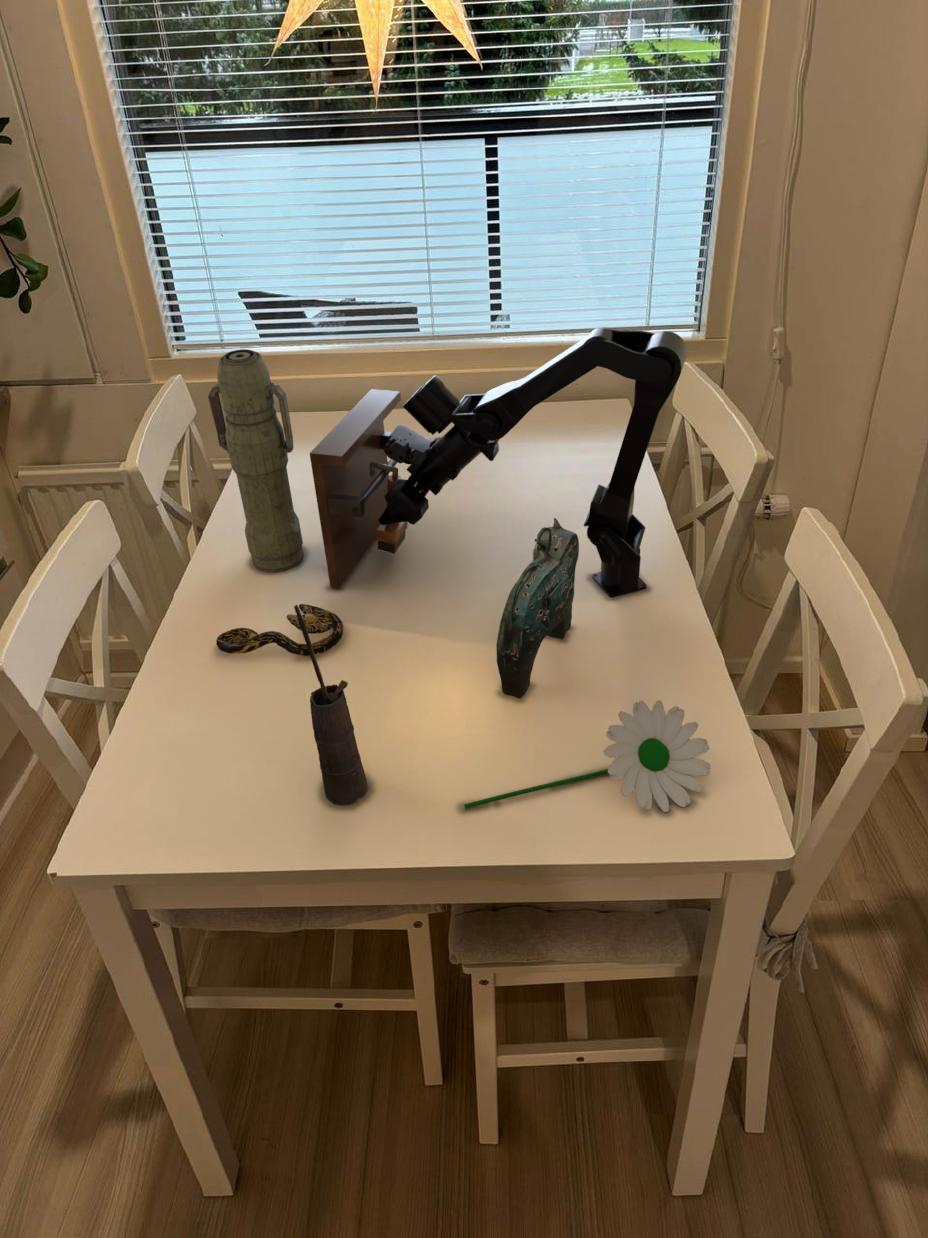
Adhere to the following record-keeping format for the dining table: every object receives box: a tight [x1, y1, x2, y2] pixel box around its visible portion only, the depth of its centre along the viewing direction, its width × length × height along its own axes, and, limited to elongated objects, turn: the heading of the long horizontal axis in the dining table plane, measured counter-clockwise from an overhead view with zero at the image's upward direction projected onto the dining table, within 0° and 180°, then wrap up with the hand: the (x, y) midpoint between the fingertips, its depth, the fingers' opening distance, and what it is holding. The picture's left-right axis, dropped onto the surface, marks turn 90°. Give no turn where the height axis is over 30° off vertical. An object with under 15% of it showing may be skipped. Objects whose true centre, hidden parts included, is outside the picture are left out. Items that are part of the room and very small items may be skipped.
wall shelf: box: [309, 388, 402, 590], centre depth 149 cm, size 7×24×24 cm, turn 163°
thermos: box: [207, 348, 305, 574], centre depth 145 cm, size 9×12×35 cm
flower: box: [463, 699, 712, 813], centre depth 110 cm, size 13×6×30 cm
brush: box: [370, 462, 409, 555], centre depth 150 cm, size 6×6×14 cm
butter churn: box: [293, 604, 369, 806], centre depth 105 cm, size 9×10×28 cm
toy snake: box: [215, 603, 344, 657], centre depth 135 cm, size 18×5×10 cm
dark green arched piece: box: [496, 517, 580, 700], centre depth 125 cm, size 20×6×20 cm, turn 152°
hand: (390, 508), depth 150 cm, fingers open, 9 cm apart
